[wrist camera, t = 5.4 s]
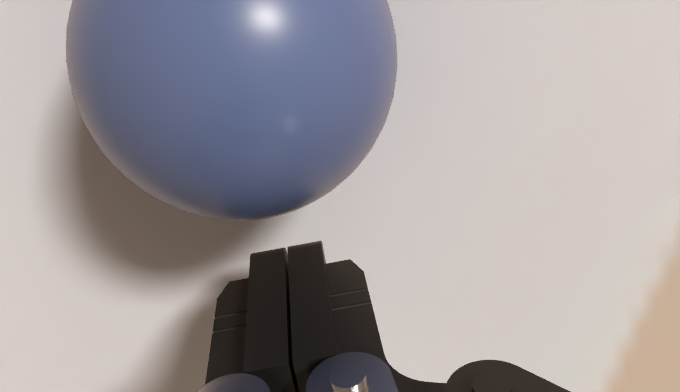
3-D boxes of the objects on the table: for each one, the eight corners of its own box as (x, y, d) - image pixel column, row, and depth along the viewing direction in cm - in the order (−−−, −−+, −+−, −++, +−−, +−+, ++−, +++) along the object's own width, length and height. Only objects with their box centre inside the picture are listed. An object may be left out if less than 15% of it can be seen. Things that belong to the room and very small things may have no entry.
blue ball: (138, 294, 10) (139, 77, 13) (421, 242, 10) (367, 38, 13) (-41, 116, 6) (13, -159, 8) (450, 31, 6) (359, -214, 9)
